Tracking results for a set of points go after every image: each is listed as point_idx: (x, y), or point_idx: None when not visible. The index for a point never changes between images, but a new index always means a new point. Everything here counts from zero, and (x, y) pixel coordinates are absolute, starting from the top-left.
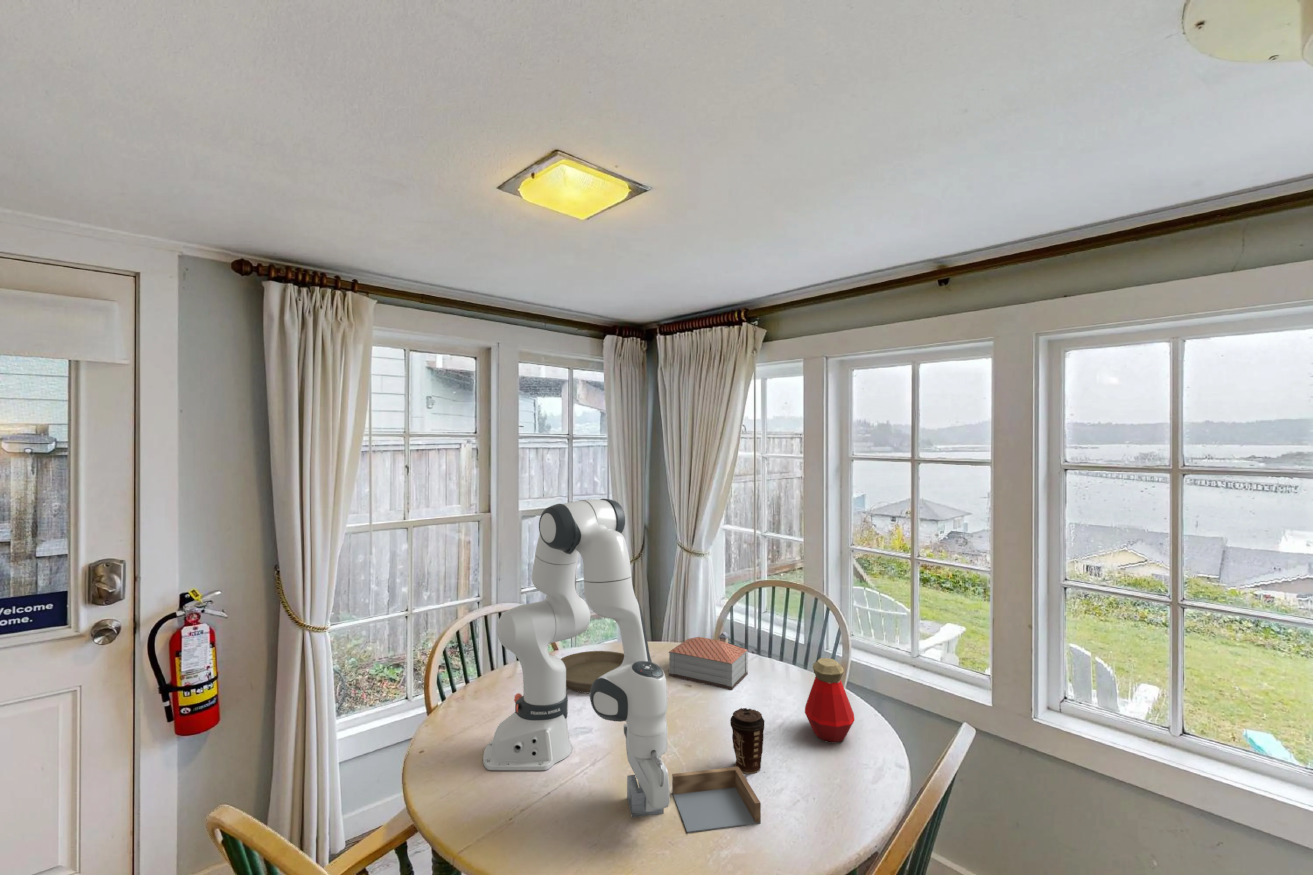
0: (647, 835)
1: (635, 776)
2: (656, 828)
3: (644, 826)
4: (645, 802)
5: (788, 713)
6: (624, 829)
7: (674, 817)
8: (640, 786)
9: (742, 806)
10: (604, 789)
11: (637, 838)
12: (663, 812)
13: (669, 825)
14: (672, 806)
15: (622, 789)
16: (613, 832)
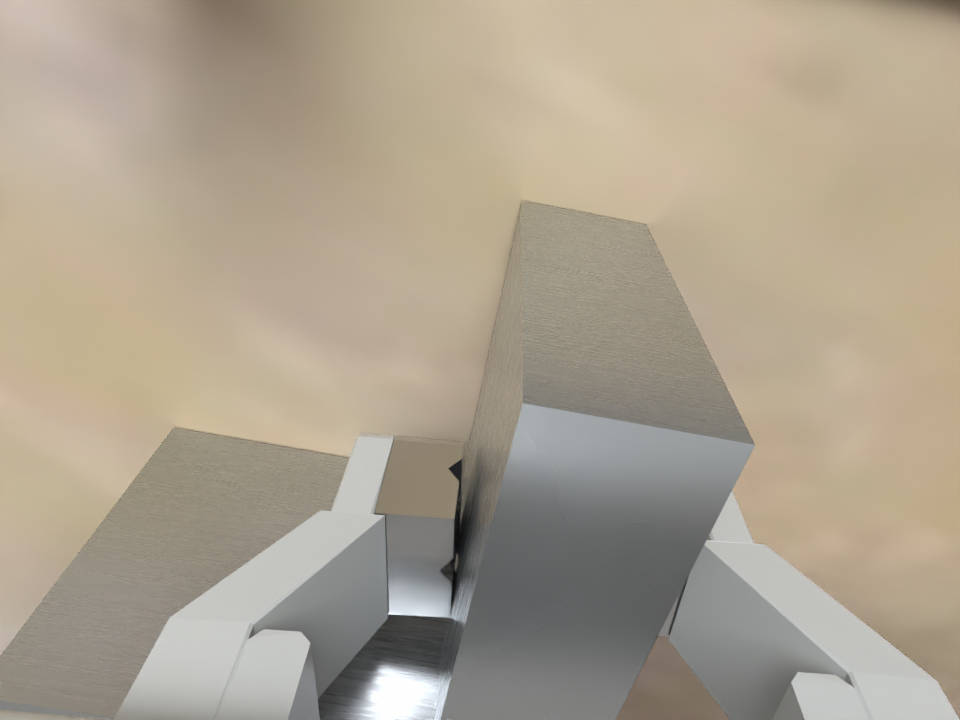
0: (898, 530)
1: (41, 705)
2: (865, 417)
3: (746, 509)
4: (662, 628)
5: None
6: (676, 652)
7: (828, 99)
8: (326, 670)
9: None
10: (10, 621)
11: (868, 610)
12: (645, 229)
13: (935, 251)
14: (548, 3)
15: (10, 494)
16: (663, 717)
